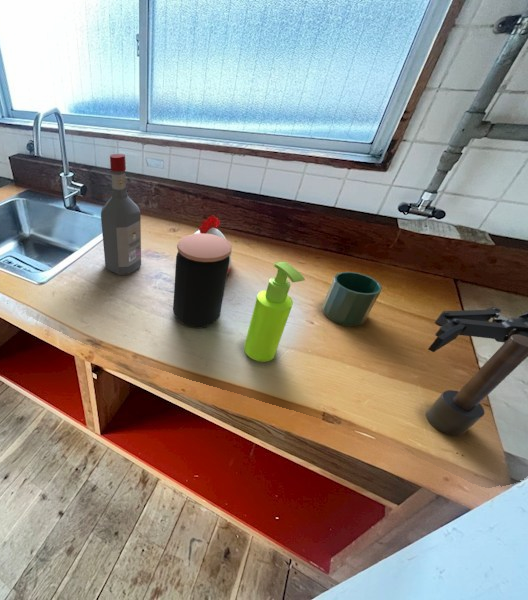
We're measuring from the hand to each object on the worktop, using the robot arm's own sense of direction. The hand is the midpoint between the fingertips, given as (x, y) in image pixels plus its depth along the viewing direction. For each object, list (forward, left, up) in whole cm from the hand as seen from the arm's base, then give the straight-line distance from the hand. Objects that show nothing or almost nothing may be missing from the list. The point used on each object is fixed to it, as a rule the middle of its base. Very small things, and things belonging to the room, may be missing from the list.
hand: (490, 375), depth 45 cm
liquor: (+69, +24, -11) cm, 74 cm away
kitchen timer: (+57, +4, -11) cm, 58 cm away
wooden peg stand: (0, +1, -11) cm, 11 cm away
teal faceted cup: (+25, -10, -11) cm, 29 cm away
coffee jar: (+41, +19, -11) cm, 46 cm away
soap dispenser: (+25, +15, -11) cm, 31 cm away
